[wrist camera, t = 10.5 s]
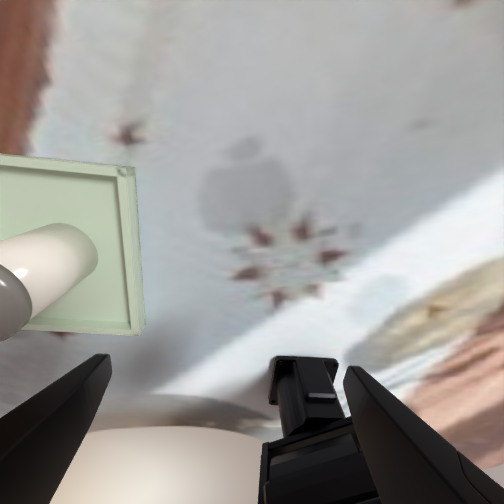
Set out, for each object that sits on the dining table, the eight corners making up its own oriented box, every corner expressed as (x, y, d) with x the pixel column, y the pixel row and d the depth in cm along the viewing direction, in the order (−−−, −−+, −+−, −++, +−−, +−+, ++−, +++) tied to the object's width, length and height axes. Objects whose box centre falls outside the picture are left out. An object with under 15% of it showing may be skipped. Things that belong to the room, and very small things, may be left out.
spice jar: (103, 281, 20) (30, 345, 13) (41, 278, 20) (-66, 341, 13) (94, 223, 18) (3, 263, 12) (25, 219, 18) (-108, 256, 11)
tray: (145, 324, 23) (139, 335, 21) (20, 317, 22) (4, 328, 20) (134, 167, 18) (125, 168, 16) (-29, 150, 17) (-54, 149, 15)
